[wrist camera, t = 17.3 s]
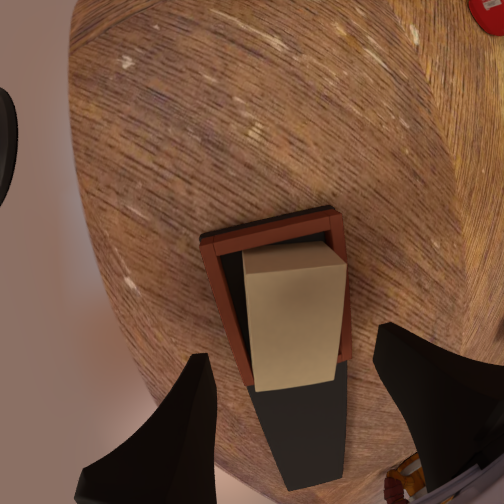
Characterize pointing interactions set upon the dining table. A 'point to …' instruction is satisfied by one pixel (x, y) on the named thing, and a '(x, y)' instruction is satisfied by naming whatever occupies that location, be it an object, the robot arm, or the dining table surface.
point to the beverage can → (488, 15)
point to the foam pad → (293, 313)
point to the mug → (406, 482)
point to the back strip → (236, 327)
